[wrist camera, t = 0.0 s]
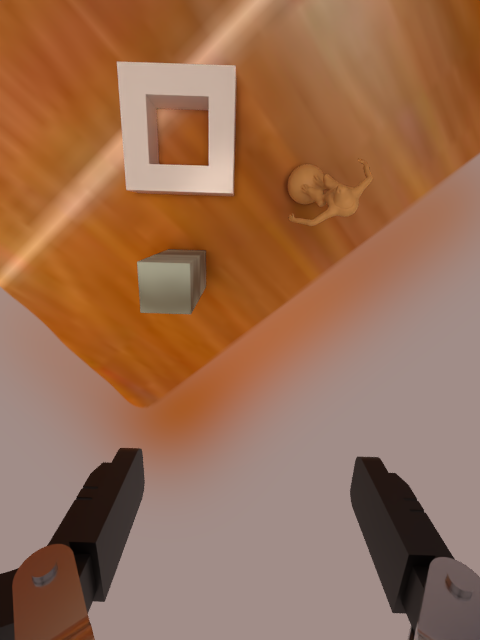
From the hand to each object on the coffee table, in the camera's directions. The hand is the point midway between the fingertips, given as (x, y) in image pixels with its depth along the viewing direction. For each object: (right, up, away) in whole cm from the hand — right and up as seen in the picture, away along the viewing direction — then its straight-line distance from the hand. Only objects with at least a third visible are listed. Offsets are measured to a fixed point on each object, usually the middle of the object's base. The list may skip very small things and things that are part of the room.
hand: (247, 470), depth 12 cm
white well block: (-6, +25, +23) cm, 35 cm away
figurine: (+8, +20, +24) cm, 33 cm away
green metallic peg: (-7, +12, +27) cm, 30 cm away
